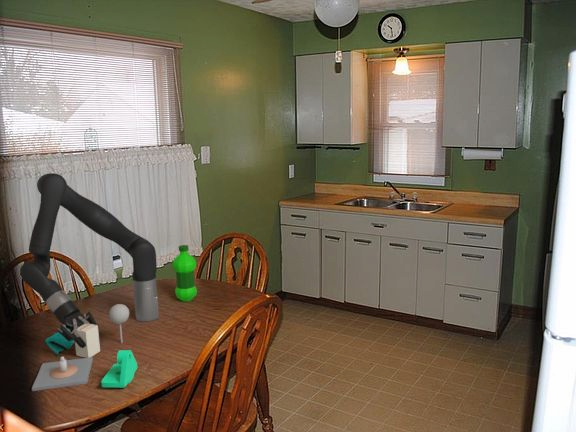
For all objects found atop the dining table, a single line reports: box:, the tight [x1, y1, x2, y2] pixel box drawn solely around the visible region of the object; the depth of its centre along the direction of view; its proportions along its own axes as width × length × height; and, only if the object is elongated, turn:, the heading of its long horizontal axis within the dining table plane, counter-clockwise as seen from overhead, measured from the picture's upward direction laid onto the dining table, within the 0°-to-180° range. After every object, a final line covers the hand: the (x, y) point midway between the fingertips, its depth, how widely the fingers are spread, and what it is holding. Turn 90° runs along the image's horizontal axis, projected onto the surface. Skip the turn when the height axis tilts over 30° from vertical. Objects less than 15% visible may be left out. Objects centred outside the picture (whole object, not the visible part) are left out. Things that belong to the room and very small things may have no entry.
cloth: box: [44, 329, 75, 356], centre depth 192 cm, size 26×14×2 cm, turn 0°
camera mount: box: [101, 349, 138, 389], centre depth 162 cm, size 12×8×10 cm, turn 178°
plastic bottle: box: [172, 244, 198, 302], centre depth 227 cm, size 10×10×25 cm
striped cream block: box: [74, 323, 101, 358], centre depth 179 cm, size 6×6×10 cm
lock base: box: [31, 356, 94, 392], centre depth 166 cm, size 16×16×6 cm
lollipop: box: [108, 303, 130, 344], centre depth 187 cm, size 7×7×15 cm
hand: (91, 342), depth 178 cm, fingers closed on striped cream block, 5 cm apart
